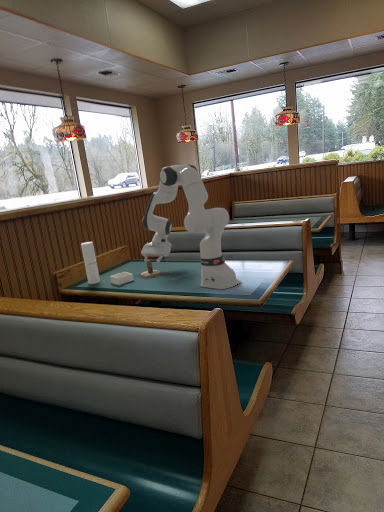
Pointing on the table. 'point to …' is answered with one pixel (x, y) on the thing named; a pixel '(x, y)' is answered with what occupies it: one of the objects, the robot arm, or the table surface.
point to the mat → (150, 277)
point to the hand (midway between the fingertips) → (151, 261)
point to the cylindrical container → (90, 262)
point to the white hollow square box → (121, 278)
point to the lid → (150, 270)
